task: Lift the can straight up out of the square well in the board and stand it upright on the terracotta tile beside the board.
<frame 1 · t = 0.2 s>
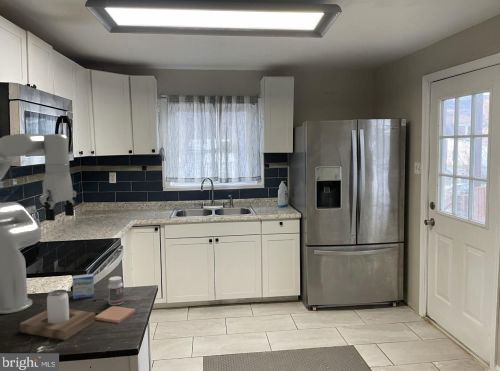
hand: (60, 218, 135), 36 cm above the countertop, tool pointing down, fingers open, 9 cm apart
tile: (115, 315, 138), on the countertop
pill bottle: (116, 303, 150), on the countertop
medicine box: (83, 296, 157), on the countertop
can: (59, 327, 130), resting in well board
well board: (59, 326, 130), on the countertop
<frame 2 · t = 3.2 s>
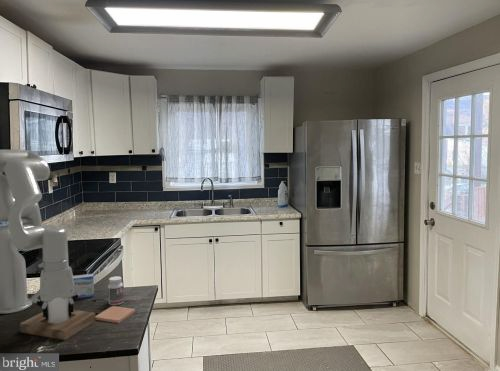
hand: (58, 316, 129), 4 cm above the countertop, tool pointing down, fingers closed on can, 6 cm apart
can: (59, 327, 130), resting in well board, touching gripper
everything else where it was.
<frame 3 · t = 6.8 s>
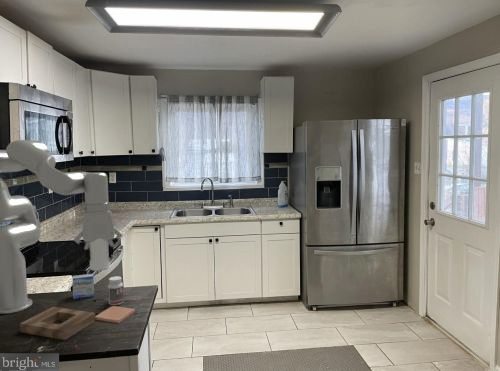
hand: (99, 258, 134), 22 cm above the countertop, tool pointing down, fingers closed on can, 6 cm apart
can: (99, 269, 134), point 18 cm above the countertop, touching gripper
everything else where it was.
when the fingers open (6 cm above the countertop, at t = 10.7 s): can drops 1 cm, resting on tile.
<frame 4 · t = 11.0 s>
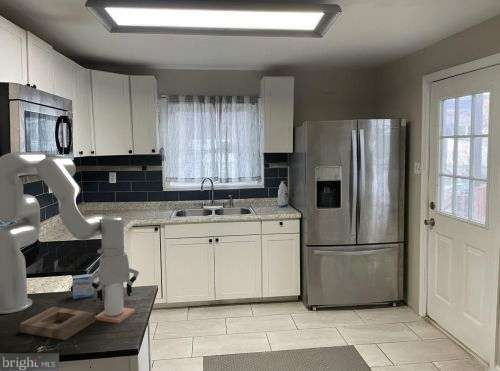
hand: (114, 297, 138), 7 cm above the countertop, tool pointing down, fingers open, 9 cm apart
can: (114, 313, 138), point 1 cm above the countertop, touching tile
everything else where it was.
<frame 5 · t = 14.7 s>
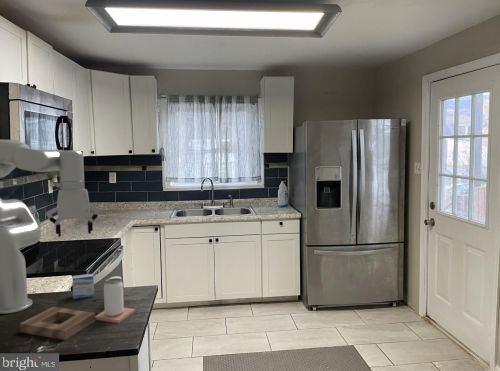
hand: (74, 234, 134), 30 cm above the countertop, tool pointing down, fingers open, 9 cm apart
nothing on the countertop moved.
at the end: can inside the target area on the tile (0.4 cm from its centre), point 0.8 cm above the tile's base; can tilted 0°; the gripper is holding nothing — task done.
